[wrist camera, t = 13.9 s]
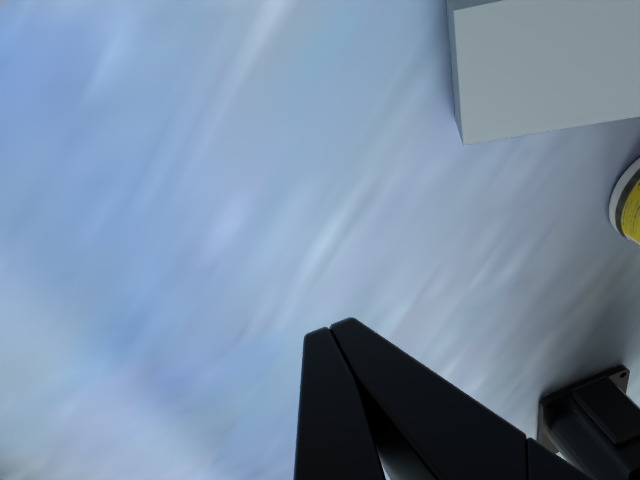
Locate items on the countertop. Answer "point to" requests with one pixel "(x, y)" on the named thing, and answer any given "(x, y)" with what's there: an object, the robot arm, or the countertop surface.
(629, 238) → the supplement bottle
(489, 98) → the block
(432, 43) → the countertop surface
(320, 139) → the countertop surface
